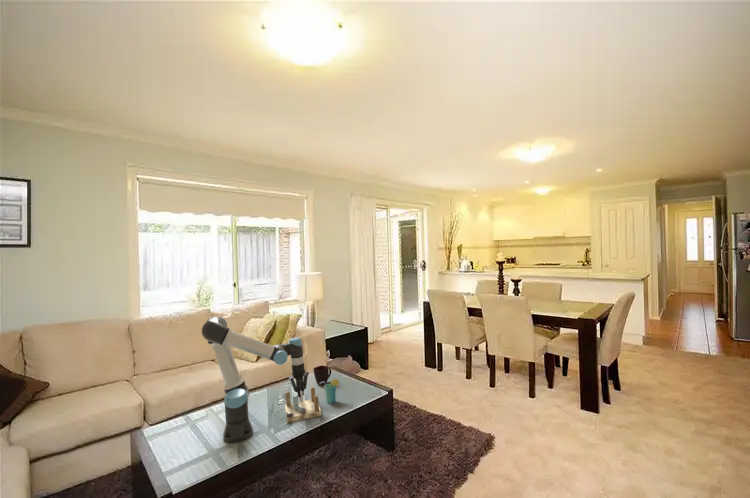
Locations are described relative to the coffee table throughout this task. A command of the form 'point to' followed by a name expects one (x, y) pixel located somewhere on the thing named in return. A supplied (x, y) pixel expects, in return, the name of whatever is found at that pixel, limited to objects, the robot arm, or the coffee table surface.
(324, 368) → the mug
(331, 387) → the cup
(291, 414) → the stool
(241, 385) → the robot arm
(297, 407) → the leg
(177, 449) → the coffee table surface
